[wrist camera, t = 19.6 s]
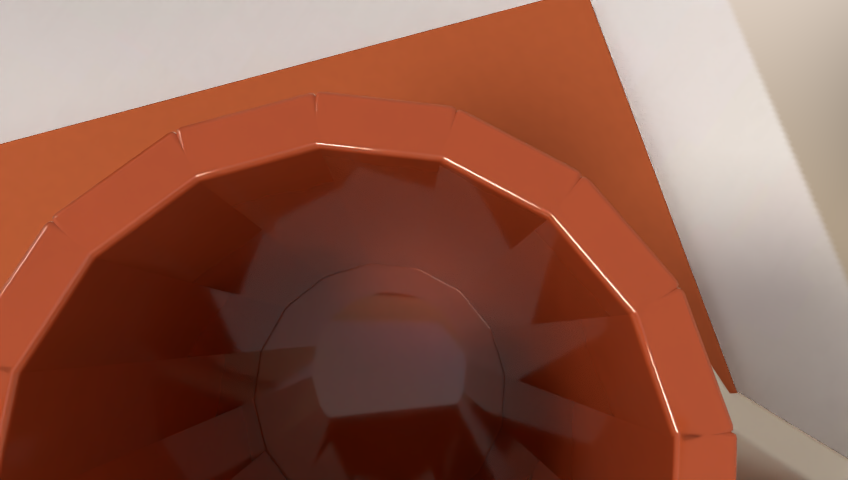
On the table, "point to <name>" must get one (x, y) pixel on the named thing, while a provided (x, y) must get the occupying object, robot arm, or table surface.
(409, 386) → the rust cup
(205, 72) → the table surface
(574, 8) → the rust mat
